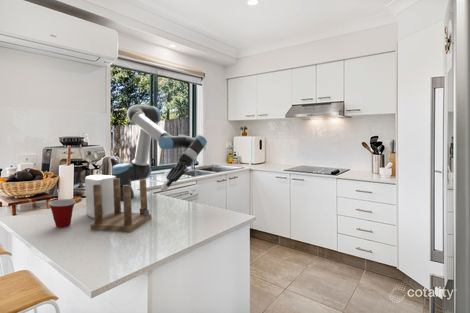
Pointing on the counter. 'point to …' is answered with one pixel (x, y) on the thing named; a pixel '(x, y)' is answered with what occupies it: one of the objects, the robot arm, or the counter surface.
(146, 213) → the hinge bracket
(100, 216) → the footstool
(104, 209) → the white canister
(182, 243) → the counter surface
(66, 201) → the plastic cup
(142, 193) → the folding leg
